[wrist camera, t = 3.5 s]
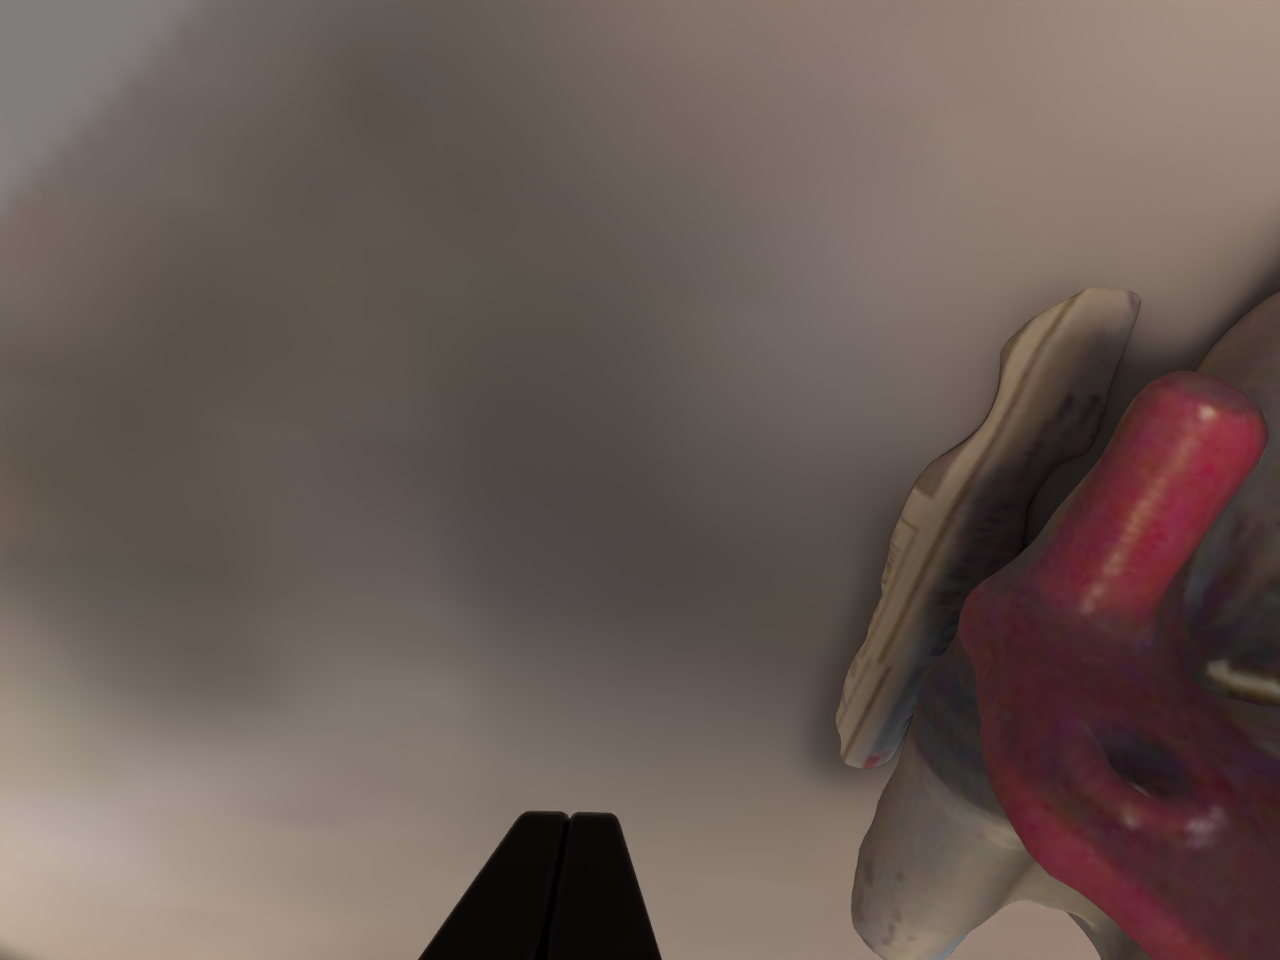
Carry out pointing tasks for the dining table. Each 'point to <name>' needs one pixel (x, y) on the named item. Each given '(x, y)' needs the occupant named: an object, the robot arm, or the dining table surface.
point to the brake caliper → (1085, 660)
